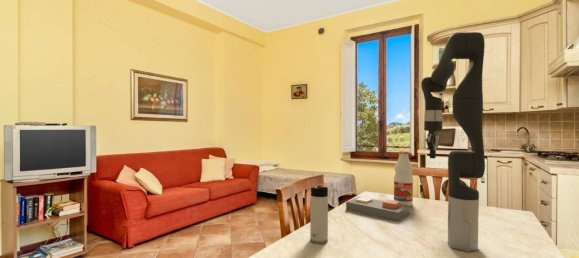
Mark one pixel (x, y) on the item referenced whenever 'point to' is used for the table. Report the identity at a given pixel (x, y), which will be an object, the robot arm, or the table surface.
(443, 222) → the table surface
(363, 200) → the off-white key
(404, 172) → the fruit juice
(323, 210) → the travel mug
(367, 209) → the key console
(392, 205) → the brick-red key
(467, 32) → the robot arm
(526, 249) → the table surface
